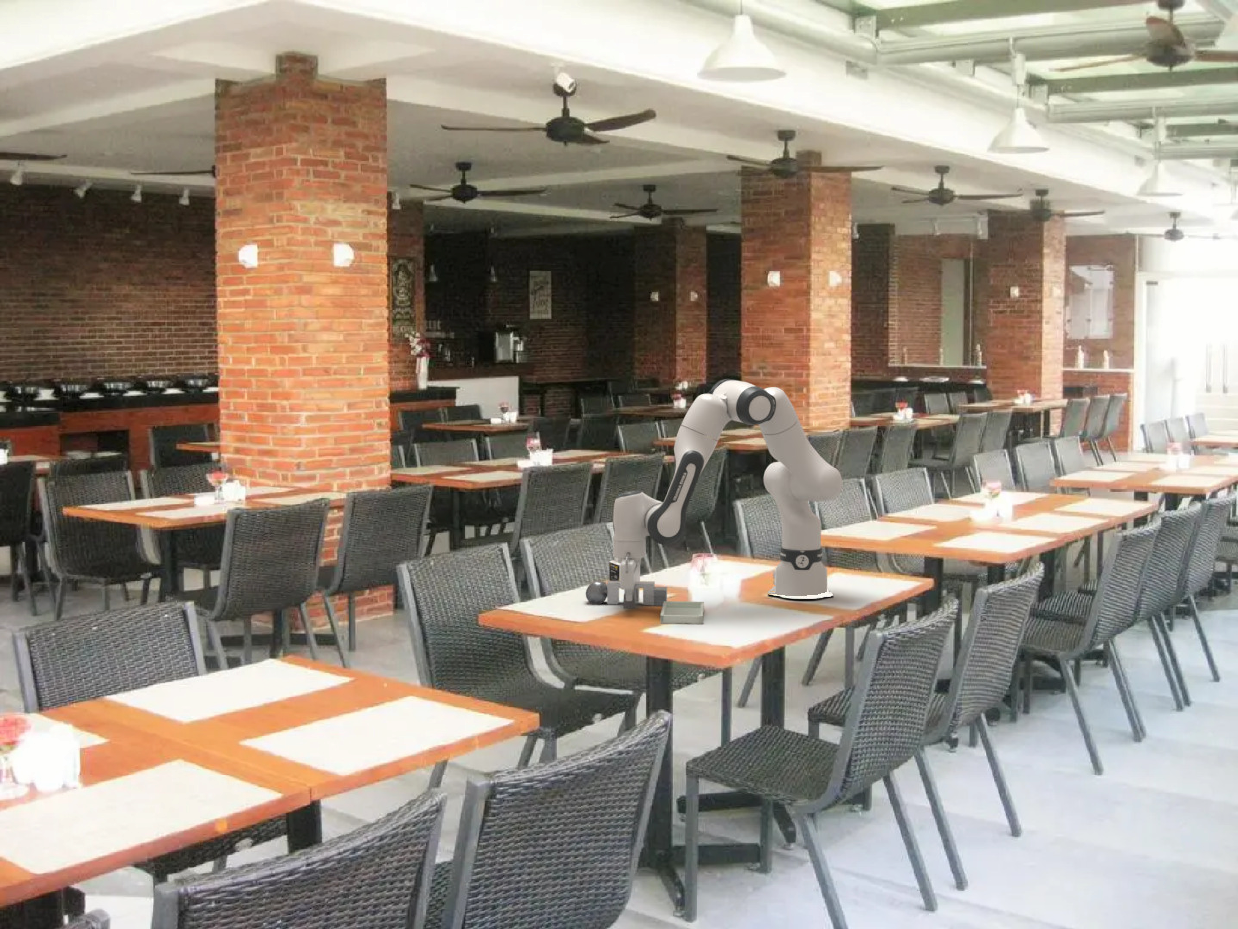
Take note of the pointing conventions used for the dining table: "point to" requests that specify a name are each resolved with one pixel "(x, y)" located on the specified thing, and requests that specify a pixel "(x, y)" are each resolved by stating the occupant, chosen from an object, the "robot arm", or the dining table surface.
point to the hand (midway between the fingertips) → (629, 600)
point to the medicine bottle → (617, 571)
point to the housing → (601, 591)
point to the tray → (682, 612)
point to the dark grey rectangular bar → (635, 598)
